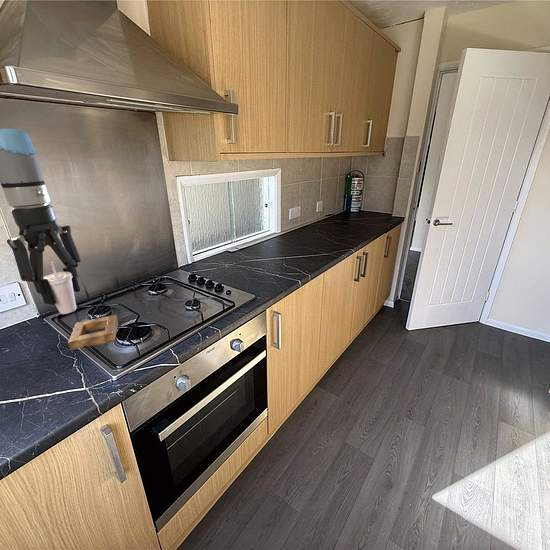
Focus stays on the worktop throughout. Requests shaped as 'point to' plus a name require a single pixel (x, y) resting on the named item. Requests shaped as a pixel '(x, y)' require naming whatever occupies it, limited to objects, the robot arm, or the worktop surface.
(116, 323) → the wooden tray
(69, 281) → the smoothie
